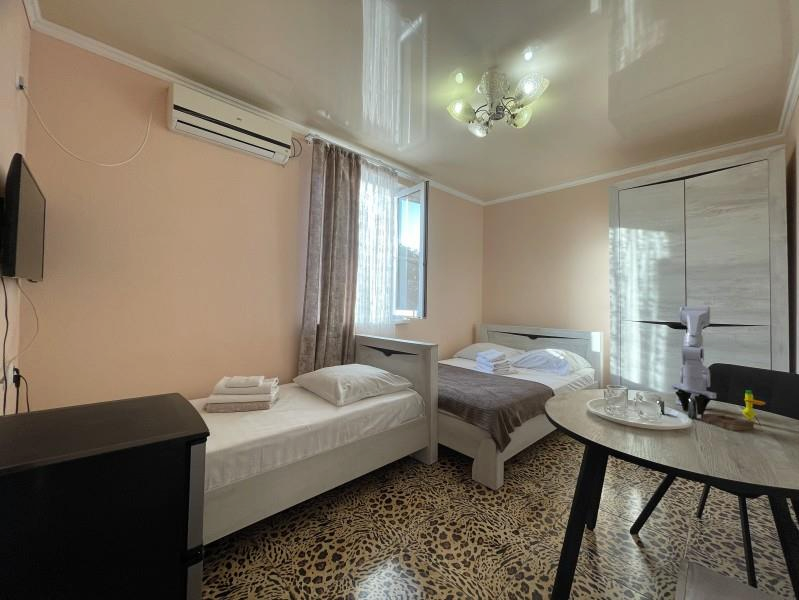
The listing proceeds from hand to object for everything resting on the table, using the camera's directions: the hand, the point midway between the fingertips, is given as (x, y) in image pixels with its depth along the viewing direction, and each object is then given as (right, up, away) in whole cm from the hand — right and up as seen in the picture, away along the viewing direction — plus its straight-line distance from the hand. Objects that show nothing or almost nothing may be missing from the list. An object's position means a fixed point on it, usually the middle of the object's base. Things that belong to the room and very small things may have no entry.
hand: (692, 412), depth 127 cm
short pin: (+5, -3, +9) cm, 11 cm away
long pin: (0, -3, 0) cm, 3 cm away
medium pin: (-8, -3, +6) cm, 10 cm away
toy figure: (+19, -3, -4) cm, 19 cm away
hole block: (+7, -2, -6) cm, 10 cm away
